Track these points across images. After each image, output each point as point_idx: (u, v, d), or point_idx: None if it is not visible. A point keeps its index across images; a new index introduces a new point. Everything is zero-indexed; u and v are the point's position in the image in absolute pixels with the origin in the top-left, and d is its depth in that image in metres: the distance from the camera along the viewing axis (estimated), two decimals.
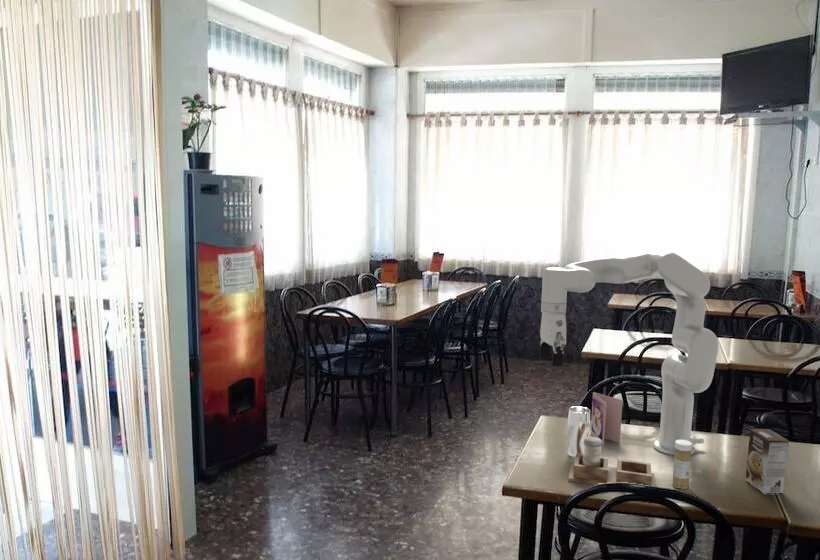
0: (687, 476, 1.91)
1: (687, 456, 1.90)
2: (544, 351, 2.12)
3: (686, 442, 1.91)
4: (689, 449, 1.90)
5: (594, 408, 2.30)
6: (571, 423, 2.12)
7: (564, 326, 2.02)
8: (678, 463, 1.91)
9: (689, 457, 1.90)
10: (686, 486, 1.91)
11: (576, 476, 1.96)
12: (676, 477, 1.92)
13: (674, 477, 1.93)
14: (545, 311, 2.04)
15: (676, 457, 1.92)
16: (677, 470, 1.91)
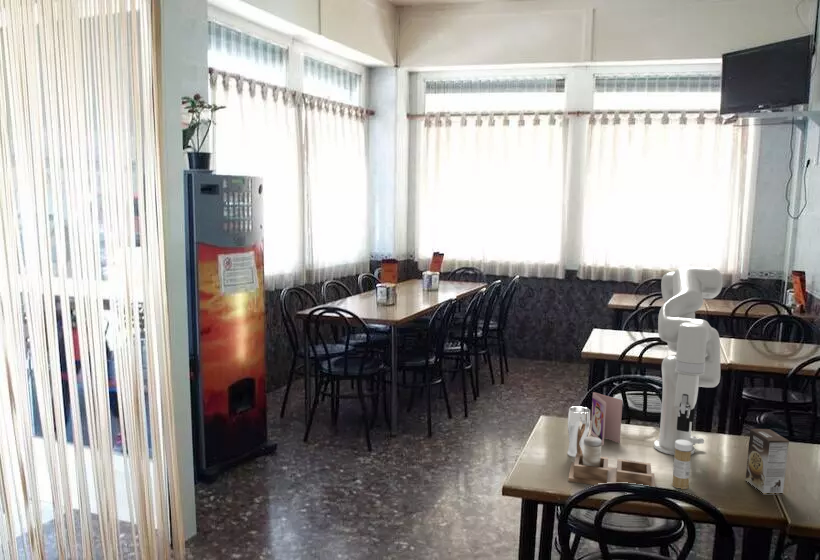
0: (687, 476, 1.91)
1: (687, 456, 1.90)
2: None
3: (686, 442, 1.91)
4: (689, 449, 1.90)
5: (594, 408, 2.30)
6: (571, 423, 2.12)
7: None
8: (678, 463, 1.91)
9: (689, 457, 1.90)
10: (686, 486, 1.91)
11: (576, 476, 1.96)
12: (676, 477, 1.92)
13: (674, 477, 1.93)
14: None
15: (676, 457, 1.92)
16: (677, 470, 1.91)
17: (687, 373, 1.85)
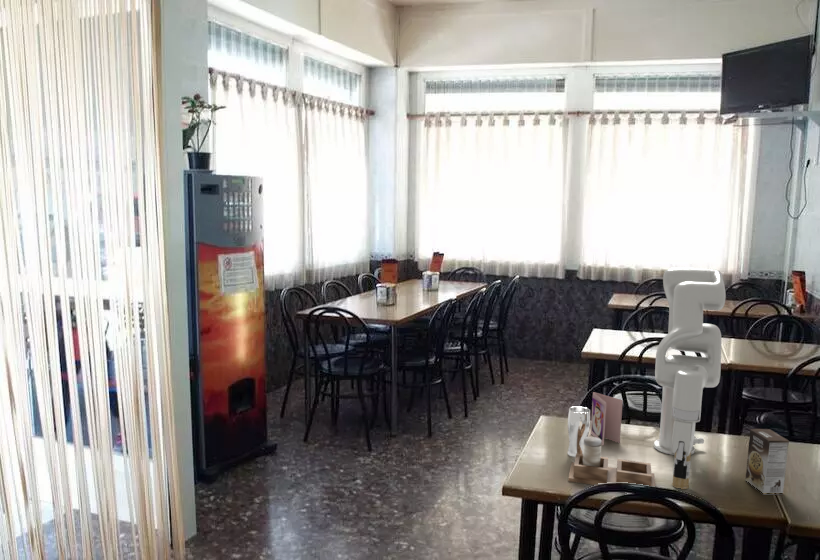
0: (687, 476, 1.91)
1: (687, 456, 1.90)
2: None
3: None
4: None
5: (594, 408, 2.30)
6: (571, 423, 2.12)
7: None
8: None
9: (689, 457, 1.90)
10: (686, 486, 1.91)
11: (576, 476, 1.96)
12: (676, 477, 1.92)
13: (674, 477, 1.93)
14: None
15: None
16: None
17: (683, 420, 1.87)
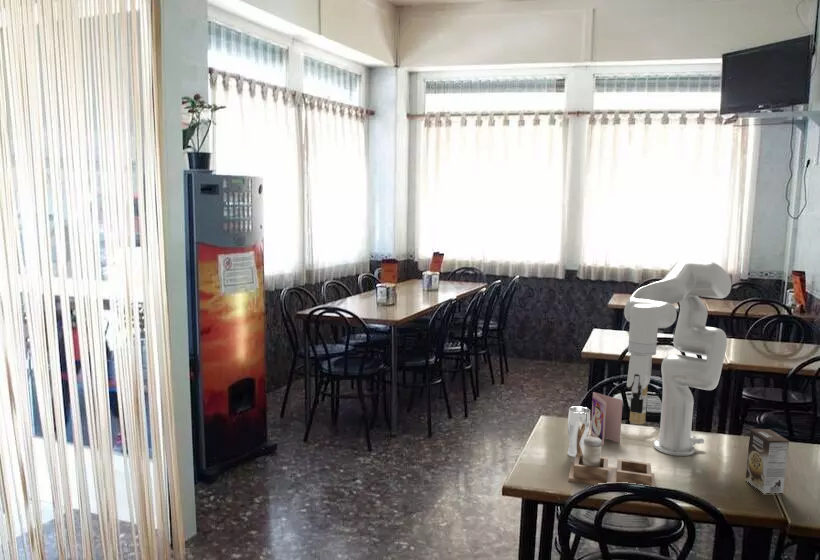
0: (643, 411, 1.91)
1: (643, 390, 1.90)
2: None
3: None
4: None
5: (594, 408, 2.30)
6: (571, 423, 2.12)
7: None
8: None
9: (645, 391, 1.90)
10: (643, 421, 1.91)
11: (576, 476, 1.96)
12: (632, 412, 1.92)
13: (631, 412, 1.92)
14: None
15: None
16: None
17: (639, 354, 1.87)
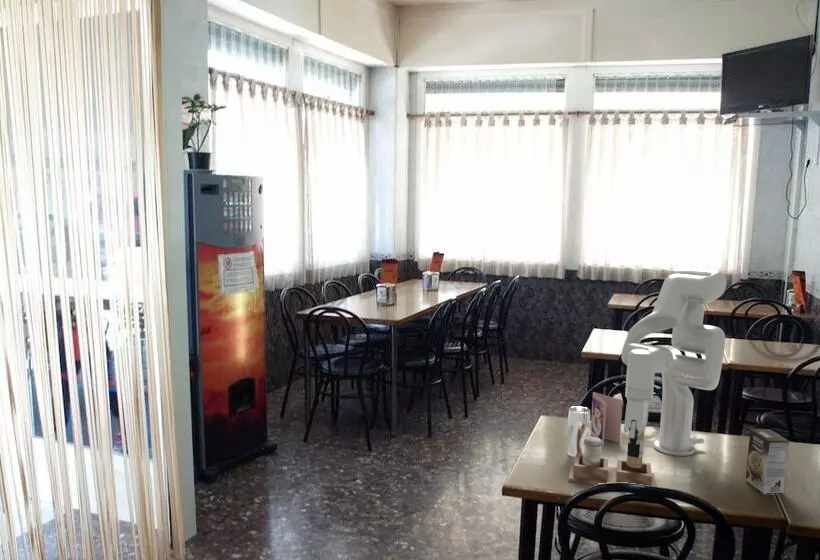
0: (640, 455, 1.93)
1: (640, 435, 1.92)
2: None
3: None
4: None
5: (594, 408, 2.30)
6: (571, 423, 2.12)
7: None
8: None
9: (642, 436, 1.92)
10: (639, 465, 1.93)
11: (576, 476, 1.96)
12: (629, 456, 1.94)
13: (628, 456, 1.94)
14: None
15: None
16: None
17: (636, 399, 1.89)
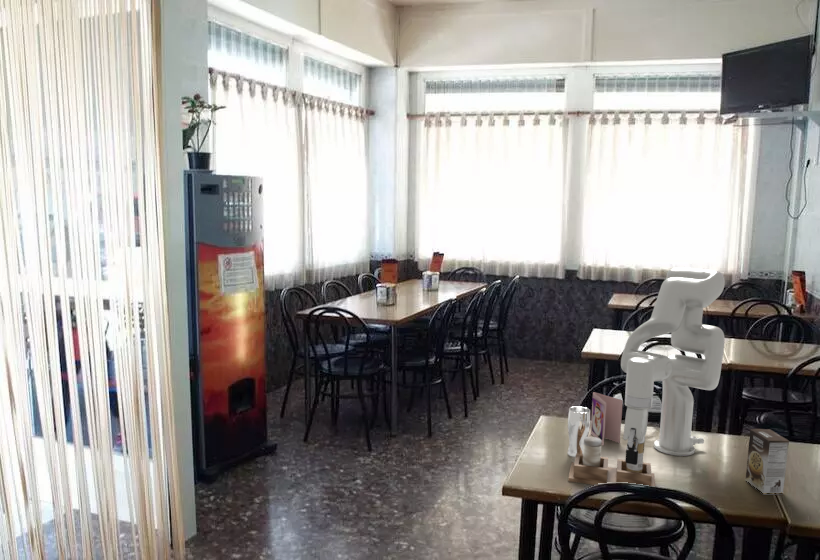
0: (640, 468, 1.93)
1: (639, 448, 1.92)
2: None
3: None
4: (641, 441, 1.92)
5: (594, 408, 2.30)
6: (571, 423, 2.12)
7: None
8: None
9: (641, 449, 1.93)
10: None
11: (576, 476, 1.96)
12: (628, 469, 1.94)
13: (627, 469, 1.95)
14: None
15: None
16: None
17: (635, 407, 1.89)
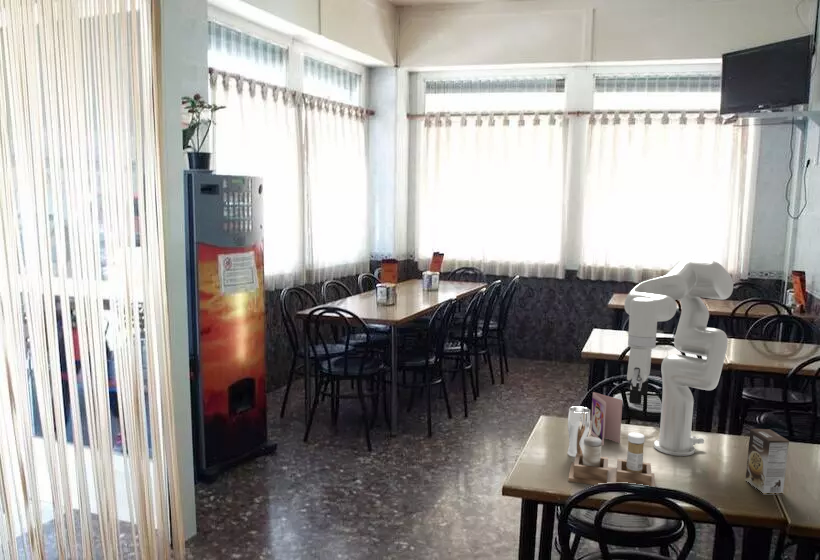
0: (639, 468, 1.93)
1: (639, 448, 1.92)
2: None
3: (639, 435, 1.93)
4: (641, 441, 1.92)
5: (594, 408, 2.30)
6: (571, 423, 2.12)
7: None
8: (630, 455, 1.93)
9: (641, 449, 1.93)
10: None
11: (576, 476, 1.96)
12: (628, 470, 1.94)
13: (627, 469, 1.95)
14: None
15: (629, 449, 1.94)
16: (629, 462, 1.94)
17: (638, 347, 1.88)
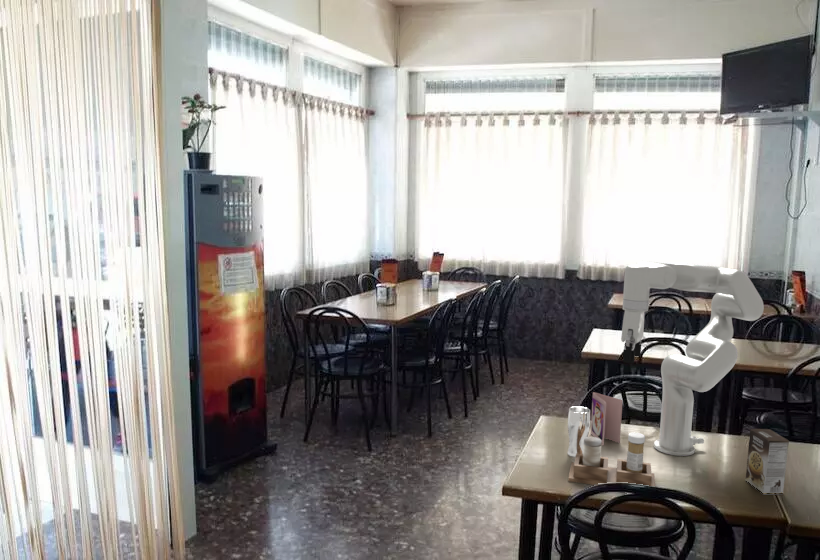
0: (640, 468, 1.93)
1: (639, 448, 1.92)
2: None
3: (639, 435, 1.93)
4: (641, 441, 1.92)
5: (594, 408, 2.30)
6: (571, 423, 2.12)
7: None
8: (631, 455, 1.93)
9: (641, 449, 1.93)
10: None
11: (576, 476, 1.96)
12: (628, 469, 1.94)
13: (627, 469, 1.95)
14: None
15: (629, 449, 1.94)
16: (629, 462, 1.94)
17: (632, 310, 2.03)
